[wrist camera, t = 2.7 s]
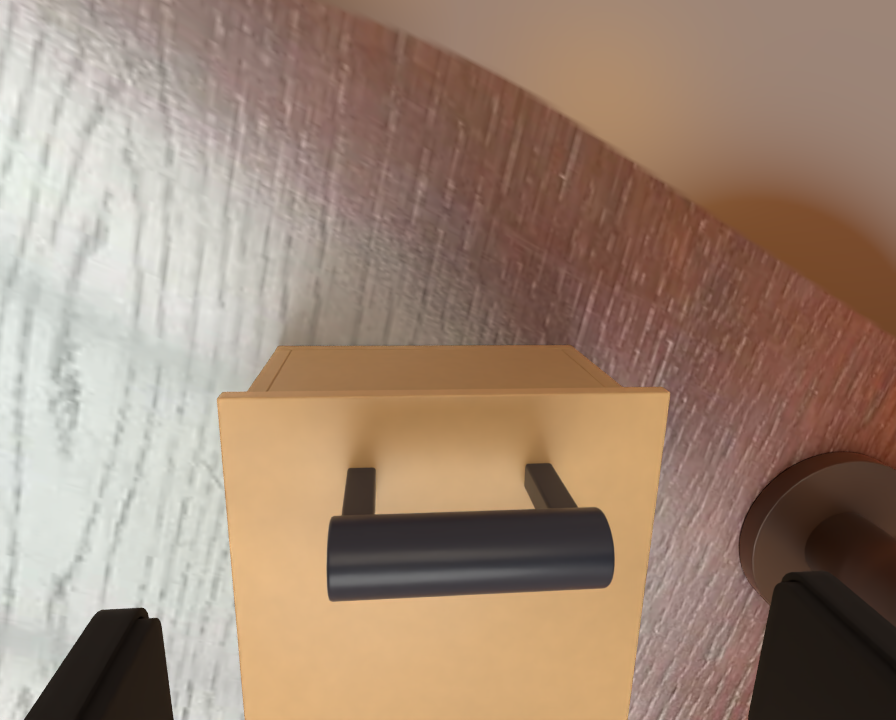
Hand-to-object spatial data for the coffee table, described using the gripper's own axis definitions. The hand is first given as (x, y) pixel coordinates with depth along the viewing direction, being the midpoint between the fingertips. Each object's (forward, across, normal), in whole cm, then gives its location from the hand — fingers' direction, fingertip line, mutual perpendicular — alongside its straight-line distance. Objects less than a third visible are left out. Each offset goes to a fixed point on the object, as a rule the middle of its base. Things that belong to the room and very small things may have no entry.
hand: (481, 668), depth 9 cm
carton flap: (+7, 0, +5) cm, 8 cm away
